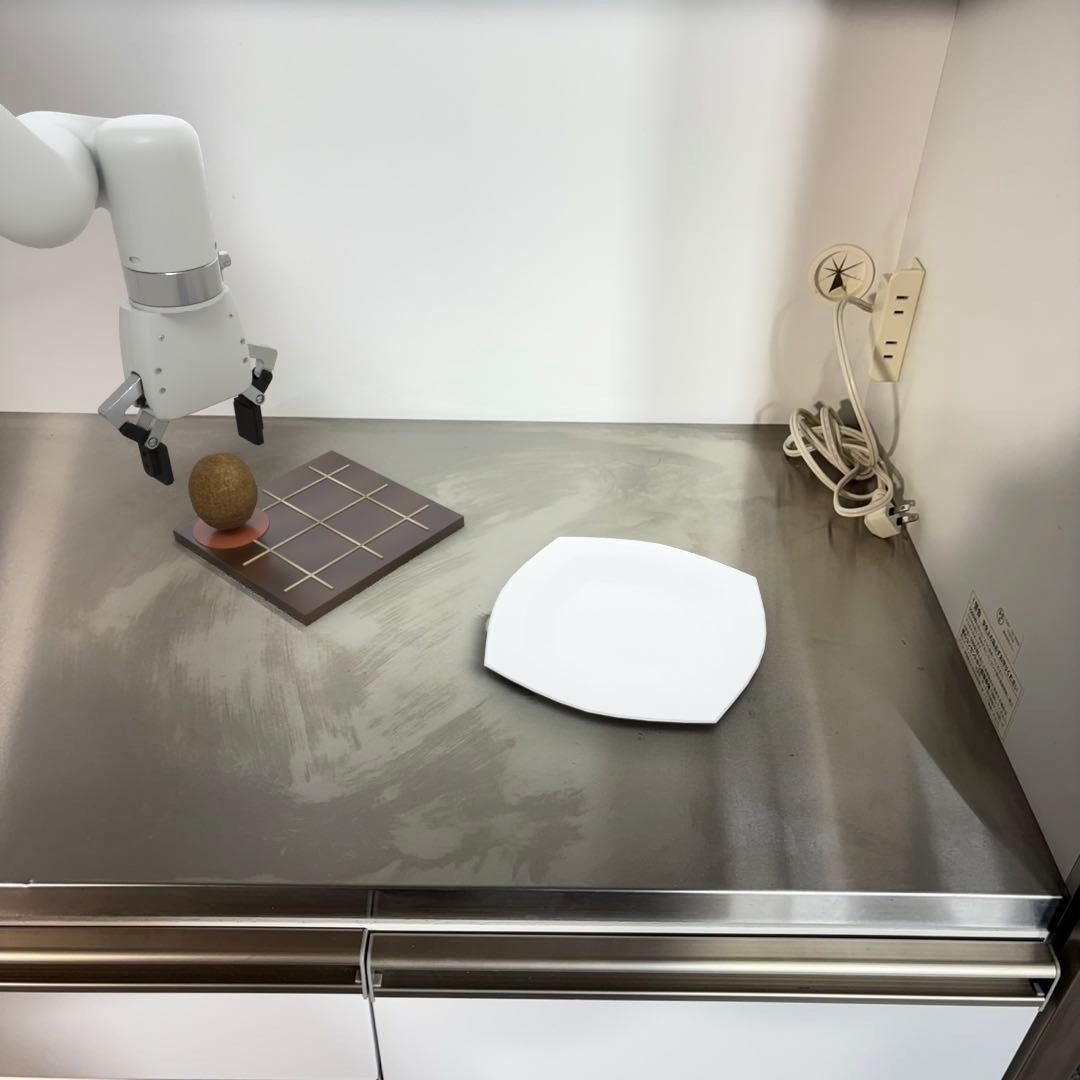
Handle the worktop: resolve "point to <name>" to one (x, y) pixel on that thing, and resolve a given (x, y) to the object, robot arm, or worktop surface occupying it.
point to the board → (323, 535)
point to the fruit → (223, 491)
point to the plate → (628, 630)
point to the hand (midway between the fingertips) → (208, 459)
